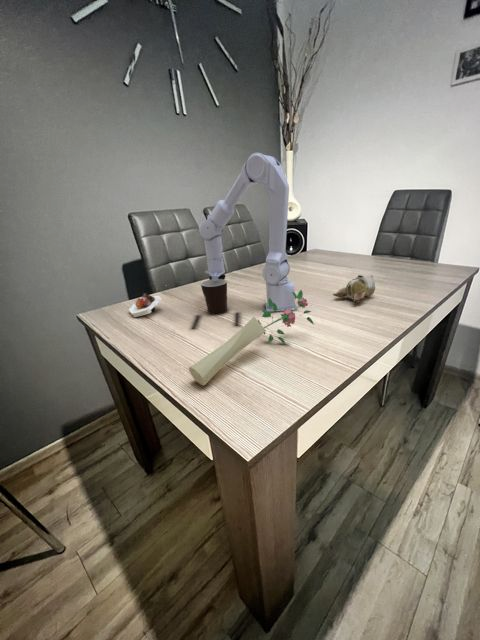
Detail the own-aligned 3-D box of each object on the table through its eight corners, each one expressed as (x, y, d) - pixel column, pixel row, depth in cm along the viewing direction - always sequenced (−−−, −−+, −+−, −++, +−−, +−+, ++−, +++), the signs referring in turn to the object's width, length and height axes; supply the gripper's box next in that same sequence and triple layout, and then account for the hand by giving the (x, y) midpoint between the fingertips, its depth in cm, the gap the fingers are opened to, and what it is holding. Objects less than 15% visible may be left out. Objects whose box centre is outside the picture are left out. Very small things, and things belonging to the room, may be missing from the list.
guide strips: (238, 313, 92) (238, 312, 92) (238, 325, 83) (238, 324, 83) (197, 316, 91) (196, 315, 91) (192, 328, 83) (192, 327, 83)
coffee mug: (226, 316, 90) (222, 286, 85) (201, 315, 92) (196, 286, 87) (235, 303, 100) (232, 276, 95) (213, 303, 102) (209, 276, 97)
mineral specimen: (171, 305, 96) (160, 287, 92) (145, 325, 91) (132, 307, 87) (156, 301, 104) (145, 284, 100) (131, 319, 99) (118, 303, 95)
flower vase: (203, 401, 64) (290, 323, 82) (232, 413, 55) (323, 321, 73) (176, 361, 60) (274, 287, 77) (203, 367, 50) (308, 281, 68)
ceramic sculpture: (386, 272, 94) (357, 284, 87) (382, 296, 98) (355, 309, 91) (360, 268, 101) (331, 278, 95) (358, 290, 106) (331, 301, 99)
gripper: (206, 254, 102) (211, 290, 108) (200, 262, 89) (206, 302, 96) (224, 253, 102) (228, 289, 108) (222, 261, 89) (226, 301, 96)
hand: (219, 295), depth 102 cm, fingers closed
